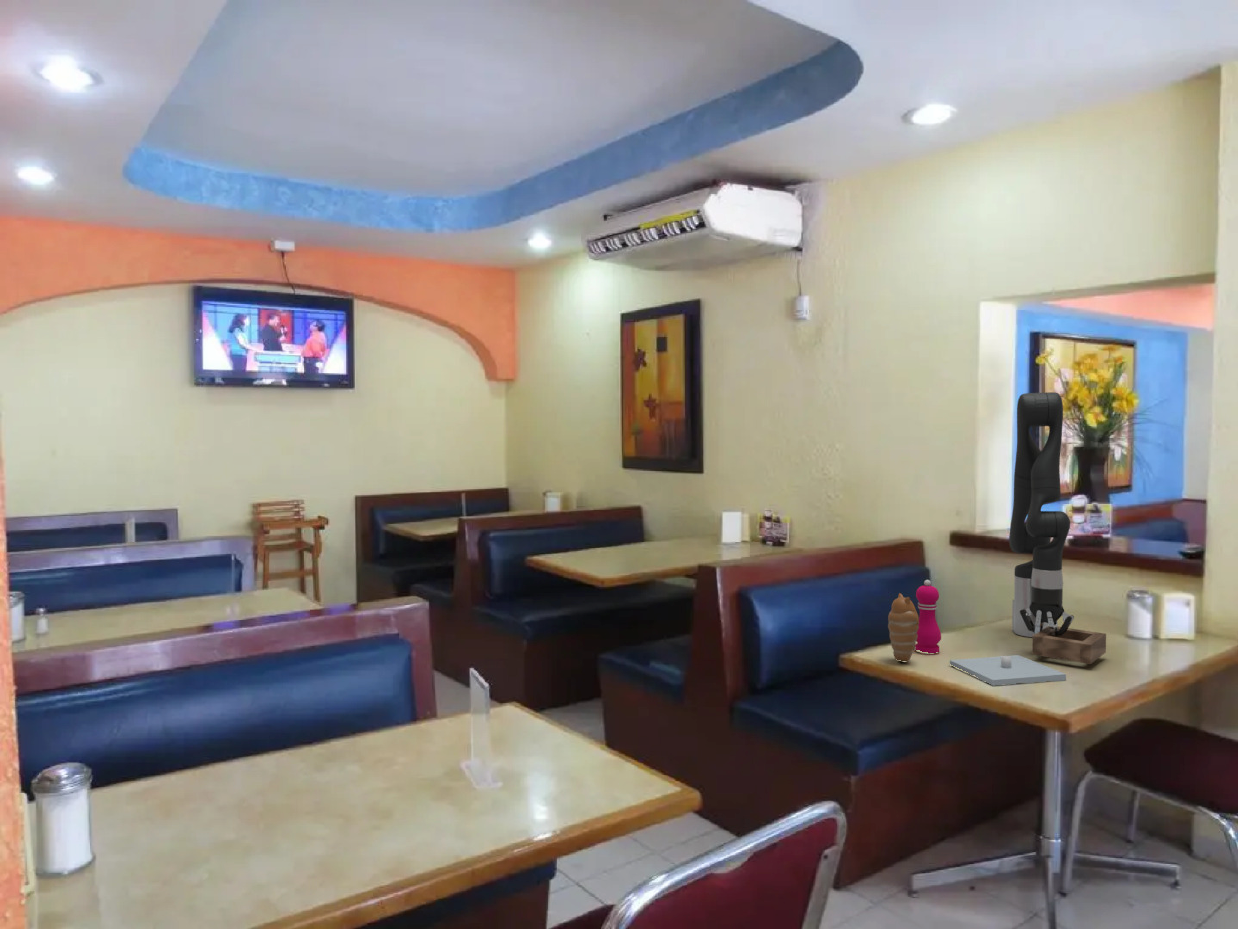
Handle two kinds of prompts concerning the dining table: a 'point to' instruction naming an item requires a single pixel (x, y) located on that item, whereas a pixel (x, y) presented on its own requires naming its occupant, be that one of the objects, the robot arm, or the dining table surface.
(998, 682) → the peg board
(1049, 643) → the frame
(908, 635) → the cat ice cream
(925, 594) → the pepper mill
